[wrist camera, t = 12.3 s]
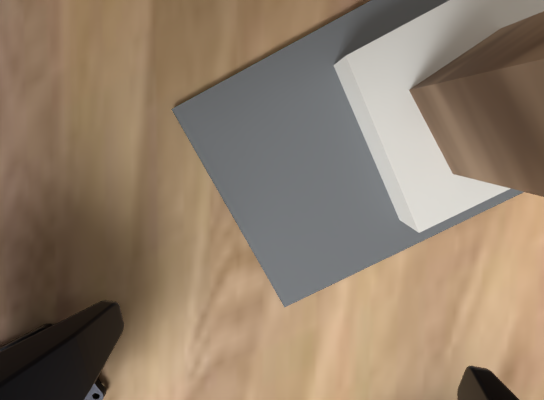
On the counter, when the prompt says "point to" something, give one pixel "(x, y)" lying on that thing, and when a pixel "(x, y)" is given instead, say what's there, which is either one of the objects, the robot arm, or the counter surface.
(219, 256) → the counter surface
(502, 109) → the walnut pillar block
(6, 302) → the counter surface
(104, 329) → the robot arm
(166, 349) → the counter surface
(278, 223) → the build board
